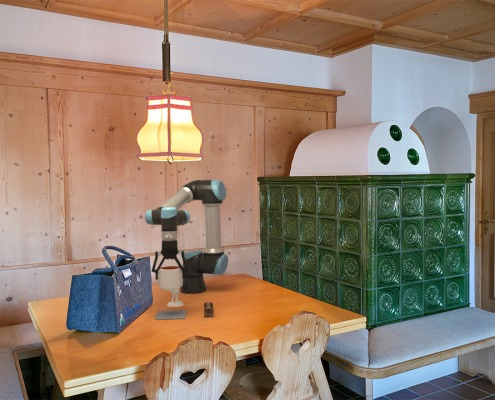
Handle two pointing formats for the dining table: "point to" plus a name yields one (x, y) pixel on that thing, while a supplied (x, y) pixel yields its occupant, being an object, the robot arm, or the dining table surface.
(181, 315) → the pad
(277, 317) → the dining table surface
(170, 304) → the figurine
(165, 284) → the cup
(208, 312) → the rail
